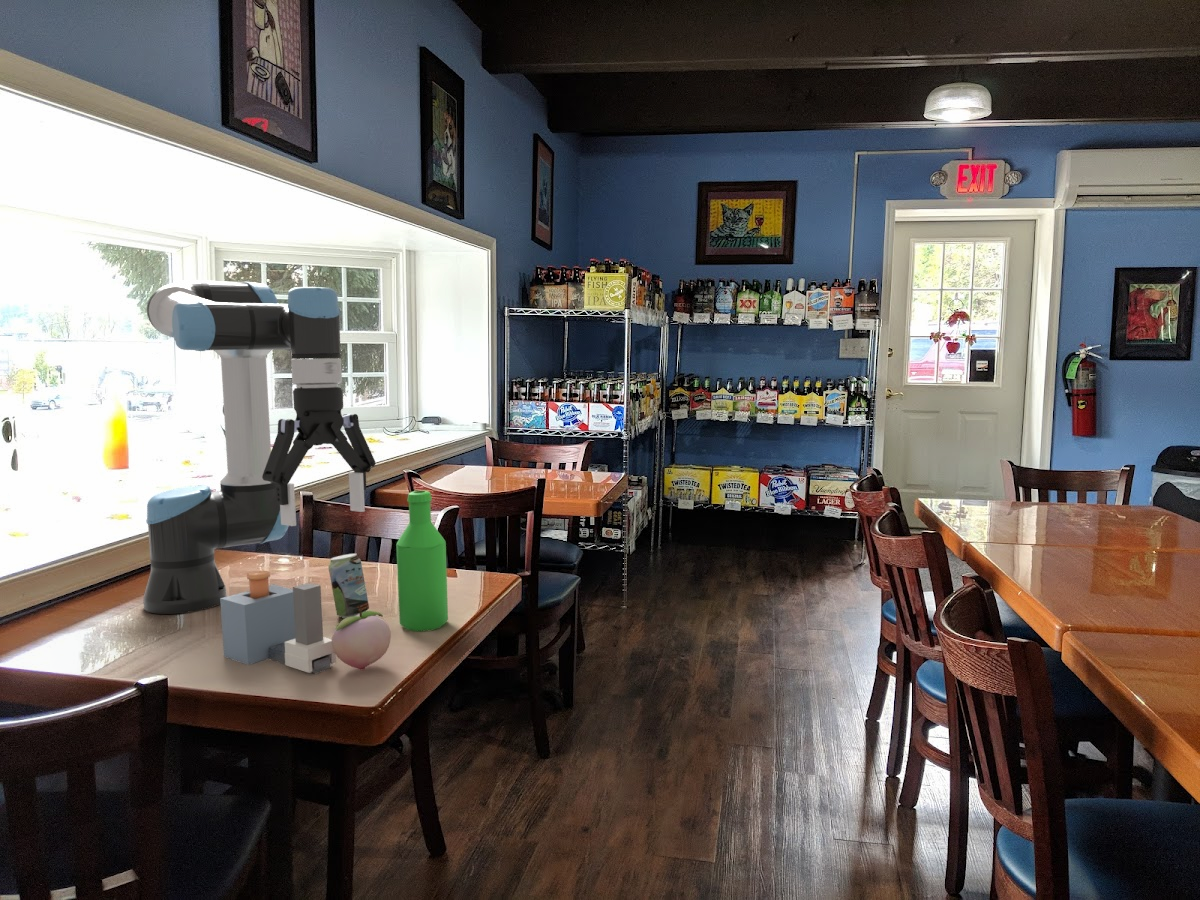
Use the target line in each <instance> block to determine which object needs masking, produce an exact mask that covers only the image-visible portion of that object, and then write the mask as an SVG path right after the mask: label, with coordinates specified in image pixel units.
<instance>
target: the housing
mask: <svg viewBox="0 0 1200 900" xmlns="http://www.w3.org/2000/svg"><path fill="white" fill-rule="evenodd" d="M226 596H227V597H223V598H220V604H219V605H220V616H221V617H220V618H221V630H222V631H221V634H222V645H223V647H222V648H223V649H222V650H223V657H224V658H227V659H230V660H233V661H236V662H239V663H242V664H245V665H247V666H249V665H252V664H255V663H259V662H261V661H264V660H267V659H269V647H271V646H275V645H278V644H281V643H284V642H286V641H289V640H292V639H295V620H294V602H293V588H289V587H284V586H281V585H279V584H278V585H277V584H271V585H270V584H269V596H266V597H262V598H258V599H253V598H250V590H247V591H243V592H240V593H236V594H232V595H226Z"/></svg>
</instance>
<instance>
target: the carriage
mask: <svg viewBox="0 0 1200 900" xmlns="http://www.w3.org/2000/svg"><path fill="white" fill-rule="evenodd" d="M292 589H293V602H294V620H295V639H292V640H289V641H286V642H285V664H284V665H285V666H287V667H290V668H293V669H296V670H299V671H303V672H306V673H310V672H312V660H314V659H317V658H320V657H322V656H325V655H327V656H330V665H331V664H332V665H333V664H336V663H337V655H336V654H335V652H334V650H333V647H332V638H328V637H326V636H324V632H323V631H324V629H323V627H324V626H323V609H322V608H323V605H322V592H321V591H322V589H321V585H320V584H316V583H312V582H307V583H302V584H298V585H295V586H292Z"/></svg>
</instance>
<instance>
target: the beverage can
mask: <svg viewBox="0 0 1200 900" xmlns="http://www.w3.org/2000/svg"><path fill="white" fill-rule="evenodd" d="M328 572H329V577H330V584H331V589H332V594H333V599H334V601H333V602H334V605H335V612H336V615H337V616H338V617H341V618H342V619H345V618H348V617H353V616H356V615H358V614H360V610H359V609H360V608H361V609H362V613H363V612H366V611H369V609H370V605H369V600H368V599H369V598H368V593H367V588H366V582H365V578H364V577H365V576H364V570H363V564H362V560H361V558H360V557H359V556H358V554H357V553H347V554H341V555H338V556H337V555H336V556H333V557H331V558H330V561H329V564H328Z"/></svg>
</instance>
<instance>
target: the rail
mask: <svg viewBox="0 0 1200 900" xmlns="http://www.w3.org/2000/svg"><path fill="white" fill-rule="evenodd" d="M270 659H271V661H275V662H277V663H280V664H283V665H285V642H284V643H281V644H278V645H275V646H271V647H269V658H268V660H270ZM330 669H331V663H330V656H327V655H325V656H322V657H320V658H317V659H314V660H312V672H309V673H310V674H312V675H317V674H319V673H321V672H324V671H327V670H330Z"/></svg>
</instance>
